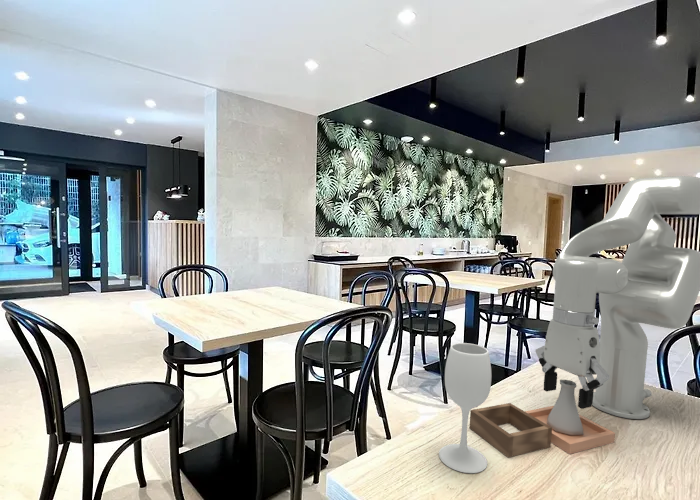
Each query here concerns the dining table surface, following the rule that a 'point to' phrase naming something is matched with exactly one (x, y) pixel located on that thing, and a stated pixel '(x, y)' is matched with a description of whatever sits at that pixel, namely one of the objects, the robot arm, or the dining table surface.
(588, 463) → the dining table surface
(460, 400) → the wineglass
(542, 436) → the frame
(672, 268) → the robot arm
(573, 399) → the flask
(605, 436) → the terracotta tray
